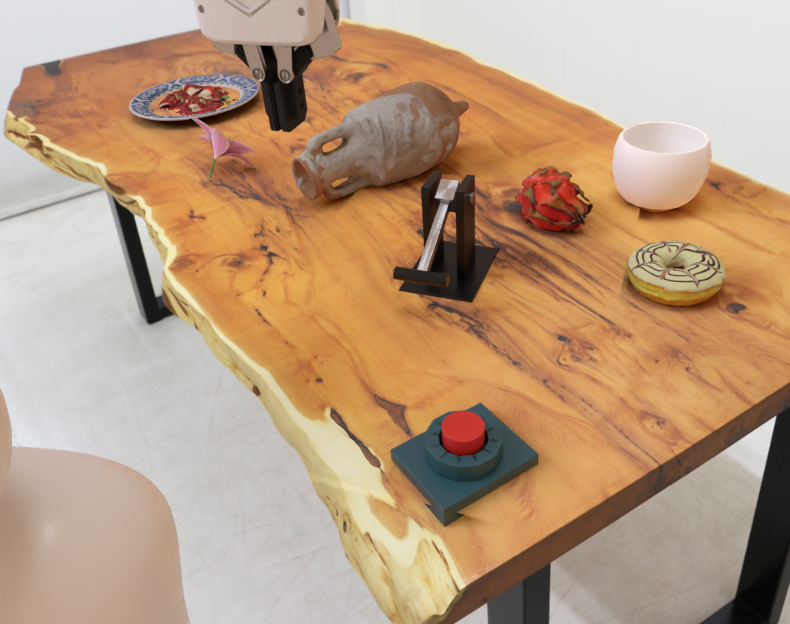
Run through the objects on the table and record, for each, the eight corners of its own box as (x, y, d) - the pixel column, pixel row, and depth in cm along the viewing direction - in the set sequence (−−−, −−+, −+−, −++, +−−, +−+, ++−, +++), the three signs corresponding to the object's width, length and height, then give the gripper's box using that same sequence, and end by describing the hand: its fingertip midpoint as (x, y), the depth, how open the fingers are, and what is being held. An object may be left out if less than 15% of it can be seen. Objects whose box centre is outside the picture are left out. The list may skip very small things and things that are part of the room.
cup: (637, 175, 106) (646, 112, 100) (717, 199, 98) (732, 132, 93) (590, 206, 99) (596, 140, 94) (672, 234, 92) (685, 165, 86)
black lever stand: (472, 309, 82) (471, 210, 74) (399, 297, 85) (391, 200, 77) (498, 256, 91) (500, 162, 83) (431, 246, 94) (427, 155, 86)
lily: (262, 190, 113) (271, 129, 111) (186, 178, 108) (194, 113, 106) (244, 185, 123) (251, 129, 122) (174, 174, 118) (181, 115, 117)
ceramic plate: (104, 120, 141) (99, 105, 139) (193, 79, 159) (190, 65, 157) (201, 138, 130) (197, 122, 128) (286, 91, 147) (283, 77, 146)
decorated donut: (734, 276, 83) (741, 249, 81) (702, 323, 77) (709, 294, 75) (647, 252, 89) (652, 225, 87) (611, 293, 82) (615, 266, 80)
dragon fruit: (527, 214, 102) (577, 263, 94) (489, 197, 96) (538, 247, 88) (564, 164, 99) (619, 211, 91) (526, 144, 93) (581, 191, 85)
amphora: (497, 81, 106) (313, 90, 91) (492, 188, 112) (319, 213, 97) (444, 77, 117) (272, 84, 103) (442, 175, 123) (280, 195, 108)
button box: (444, 527, 58) (443, 495, 56) (391, 466, 64) (388, 435, 61) (537, 471, 62) (540, 439, 60) (480, 418, 68) (480, 387, 65)
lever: (447, 292, 76) (444, 280, 74) (395, 284, 78) (390, 272, 76) (478, 195, 82) (475, 181, 80) (428, 189, 84) (425, 176, 82)
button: (459, 462, 59) (458, 448, 58) (433, 437, 61) (433, 422, 60) (493, 443, 60) (493, 429, 59) (467, 419, 63) (467, 404, 62)
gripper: (119, -127, 47) (186, 136, 58) (321, -138, 42) (353, 152, 53) (185, -139, 53) (235, 103, 64) (370, -149, 48) (390, 115, 59)
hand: (288, 125), depth 58 cm, fingers closed
